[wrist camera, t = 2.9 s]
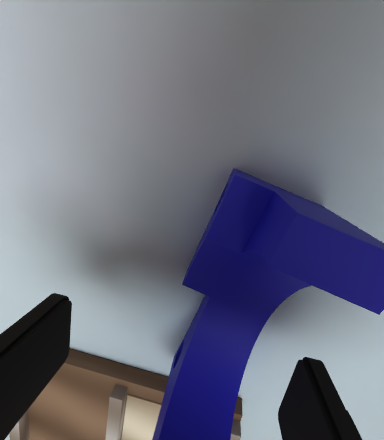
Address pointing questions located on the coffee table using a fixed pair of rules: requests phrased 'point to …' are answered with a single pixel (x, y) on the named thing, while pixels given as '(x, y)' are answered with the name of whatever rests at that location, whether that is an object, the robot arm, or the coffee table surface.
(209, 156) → the coffee table surface
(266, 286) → the cable clip
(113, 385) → the organizer board
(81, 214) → the coffee table surface
